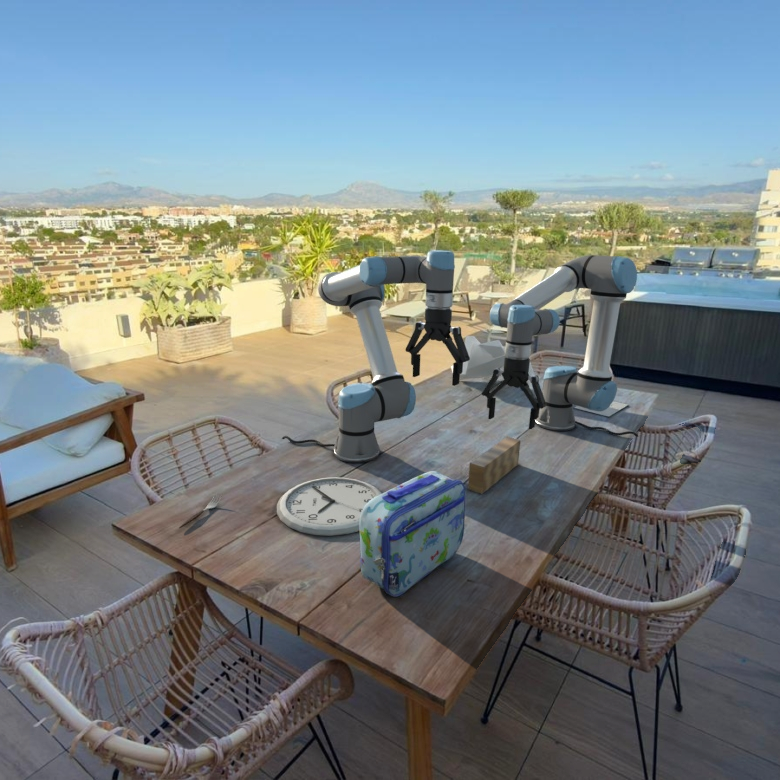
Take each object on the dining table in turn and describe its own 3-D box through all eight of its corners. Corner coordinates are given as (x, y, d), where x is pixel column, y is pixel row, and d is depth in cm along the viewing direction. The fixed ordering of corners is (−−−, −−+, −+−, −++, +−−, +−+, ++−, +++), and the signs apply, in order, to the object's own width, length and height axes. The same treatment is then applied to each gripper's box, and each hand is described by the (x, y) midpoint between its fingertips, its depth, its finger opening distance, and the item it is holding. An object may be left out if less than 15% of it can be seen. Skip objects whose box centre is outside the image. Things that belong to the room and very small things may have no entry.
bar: (505, 460, 172) (507, 436, 170) (518, 464, 170) (520, 440, 167) (467, 489, 153) (469, 462, 150) (482, 494, 150) (484, 467, 148)
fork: (174, 529, 130) (174, 521, 130) (216, 499, 144) (215, 492, 144) (183, 531, 129) (182, 524, 129) (223, 501, 144) (223, 494, 143)
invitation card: (608, 416, 214) (573, 407, 224) (608, 416, 214) (573, 408, 224) (628, 404, 229) (594, 396, 238) (628, 405, 229) (594, 397, 238)
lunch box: (388, 609, 104) (390, 516, 98) (353, 583, 111) (352, 496, 105) (468, 555, 122) (474, 474, 115) (433, 536, 129) (437, 458, 123)
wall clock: (392, 527, 129) (268, 531, 127) (391, 533, 130) (269, 537, 127) (383, 473, 158) (282, 475, 155) (383, 478, 158) (282, 480, 156)
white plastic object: (472, 423, 260) (450, 400, 235) (454, 348, 282) (432, 320, 258) (544, 398, 248) (529, 371, 223) (519, 323, 270) (503, 291, 245)
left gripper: (394, 304, 151) (393, 375, 157) (471, 314, 137) (466, 391, 143) (409, 301, 156) (407, 370, 163) (484, 310, 142) (479, 385, 149)
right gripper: (474, 352, 162) (469, 417, 168) (553, 366, 148) (545, 436, 154) (485, 348, 168) (480, 411, 174) (562, 361, 153) (554, 428, 160)
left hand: (435, 380), depth 153 cm, fingers open, 13 cm apart
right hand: (510, 423), depth 164 cm, fingers open, 13 cm apart
